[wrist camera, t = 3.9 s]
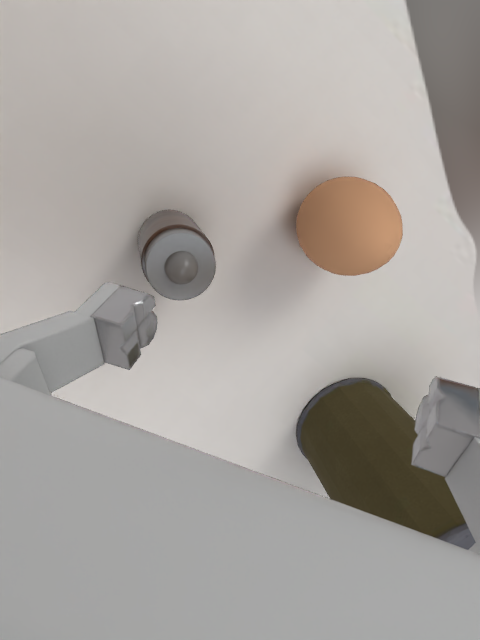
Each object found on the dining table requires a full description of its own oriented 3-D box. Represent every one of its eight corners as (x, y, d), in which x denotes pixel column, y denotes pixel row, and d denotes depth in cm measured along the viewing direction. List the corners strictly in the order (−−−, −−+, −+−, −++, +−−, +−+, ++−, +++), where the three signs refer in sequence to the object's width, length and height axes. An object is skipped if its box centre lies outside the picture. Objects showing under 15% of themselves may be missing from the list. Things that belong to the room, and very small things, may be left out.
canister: (274, 437, 42) (387, 662, 24) (349, 357, 41) (528, 535, 23) (344, 481, 47) (481, 697, 29) (413, 412, 45) (603, 594, 27)
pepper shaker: (132, 214, 31) (135, 240, 24) (195, 205, 32) (217, 226, 25) (144, 276, 33) (151, 316, 26) (204, 265, 34) (226, 301, 27)
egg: (347, 156, 33) (420, 165, 25) (368, 235, 36) (439, 266, 28) (269, 194, 33) (317, 215, 25) (297, 270, 36) (348, 311, 28)
